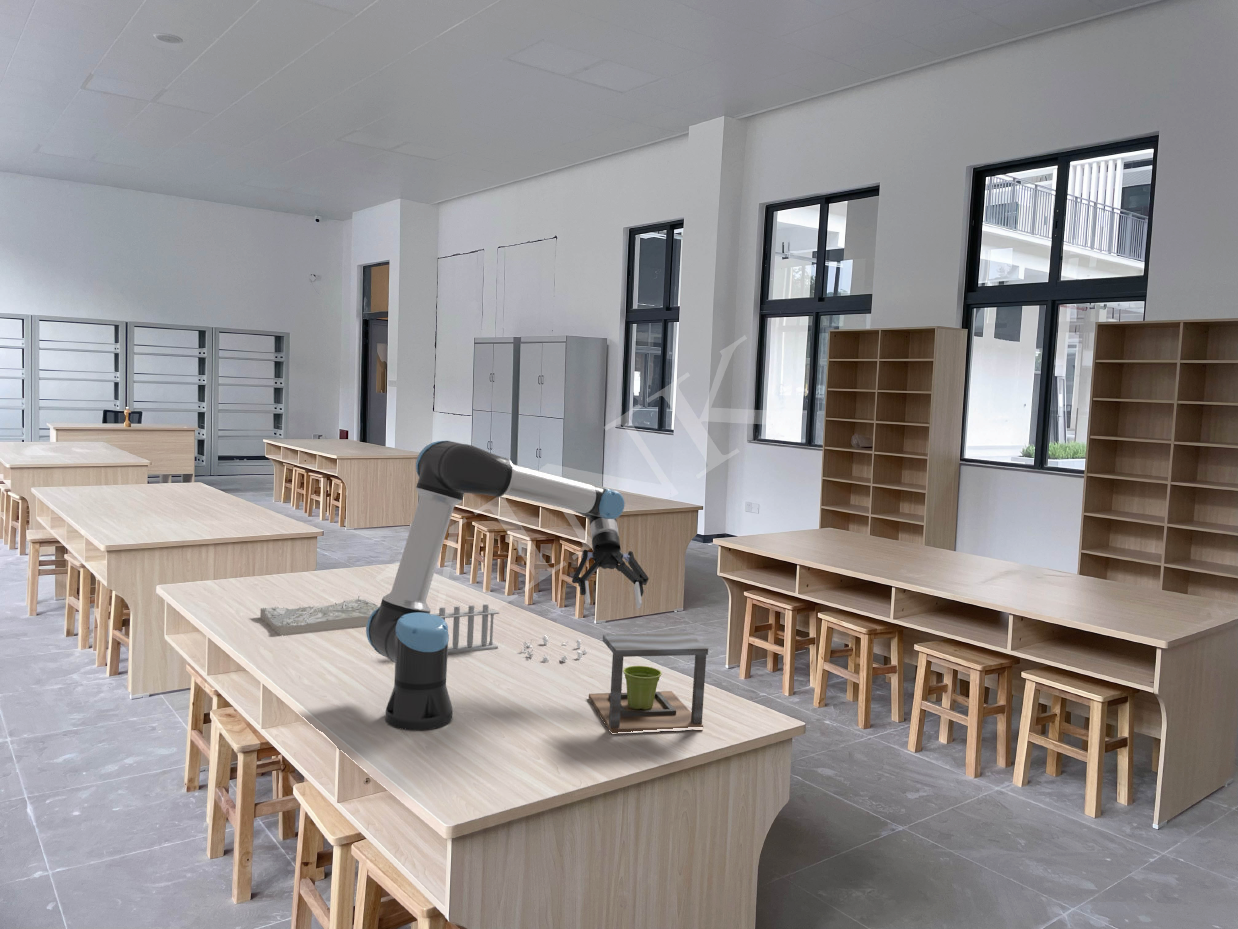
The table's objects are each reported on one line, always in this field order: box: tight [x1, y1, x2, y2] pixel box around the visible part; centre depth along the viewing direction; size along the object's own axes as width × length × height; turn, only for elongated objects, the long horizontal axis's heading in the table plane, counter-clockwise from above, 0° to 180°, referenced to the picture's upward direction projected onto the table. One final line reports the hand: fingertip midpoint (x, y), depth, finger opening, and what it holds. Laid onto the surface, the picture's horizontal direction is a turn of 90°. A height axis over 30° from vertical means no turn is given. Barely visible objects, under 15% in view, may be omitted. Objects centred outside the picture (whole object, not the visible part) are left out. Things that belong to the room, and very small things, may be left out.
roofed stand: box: [588, 632, 709, 733], centre depth 214 cm, size 24×22×20 cm
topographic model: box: [259, 595, 380, 636], centre depth 283 cm, size 23×34×5 cm
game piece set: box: [520, 634, 588, 663], centre depth 262 cm, size 19×20×4 cm
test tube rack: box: [429, 603, 500, 655], centre depth 258 cm, size 25×4×13 cm, turn 120°
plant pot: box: [623, 665, 663, 710], centre depth 217 cm, size 9×9×9 cm
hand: (613, 605), depth 227 cm, fingers open, 13 cm apart
